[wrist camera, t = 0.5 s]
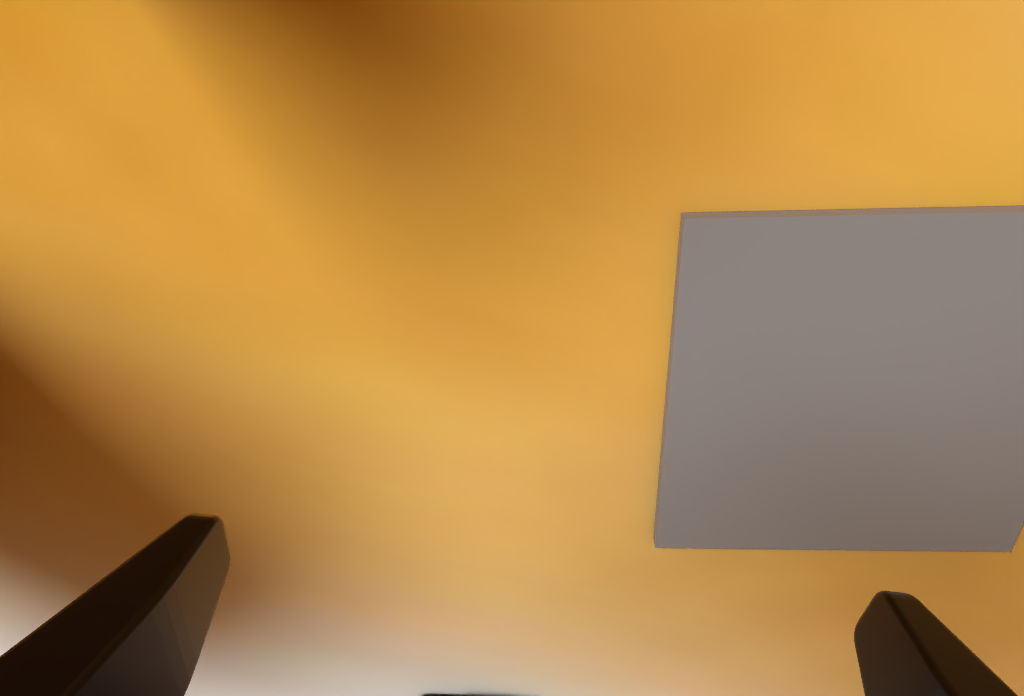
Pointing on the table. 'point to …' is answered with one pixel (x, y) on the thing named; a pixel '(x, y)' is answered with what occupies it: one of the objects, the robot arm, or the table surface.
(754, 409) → the gray mat
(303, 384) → the table surface
